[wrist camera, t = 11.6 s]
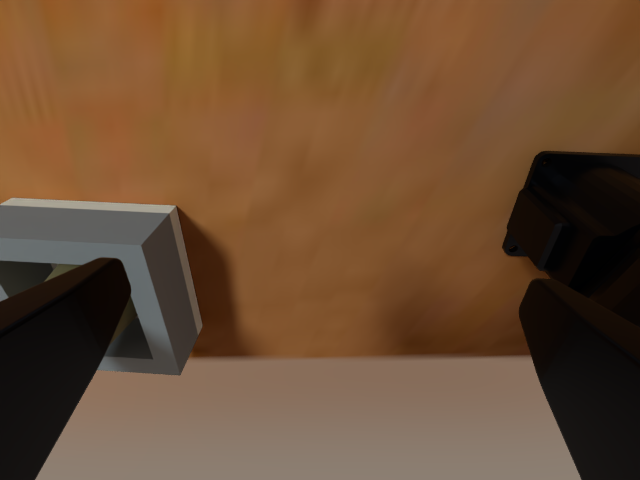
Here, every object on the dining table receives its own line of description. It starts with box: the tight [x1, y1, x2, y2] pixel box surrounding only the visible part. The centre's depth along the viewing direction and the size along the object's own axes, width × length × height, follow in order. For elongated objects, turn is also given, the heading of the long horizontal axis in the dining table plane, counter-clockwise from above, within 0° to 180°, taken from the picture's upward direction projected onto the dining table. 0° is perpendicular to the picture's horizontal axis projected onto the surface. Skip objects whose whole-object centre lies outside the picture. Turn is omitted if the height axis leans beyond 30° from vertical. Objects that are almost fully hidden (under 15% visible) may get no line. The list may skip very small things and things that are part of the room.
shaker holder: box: [0, 198, 203, 375], centre depth 23 cm, size 11×11×4 cm
